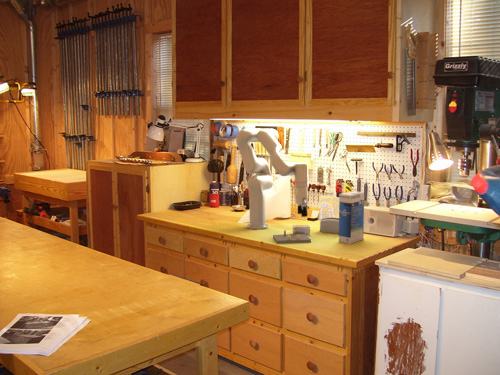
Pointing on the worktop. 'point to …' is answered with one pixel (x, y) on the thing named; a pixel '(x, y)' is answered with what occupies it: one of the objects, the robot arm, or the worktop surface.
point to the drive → (302, 229)
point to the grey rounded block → (329, 224)
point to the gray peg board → (291, 238)
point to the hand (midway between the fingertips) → (302, 215)
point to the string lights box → (351, 217)
